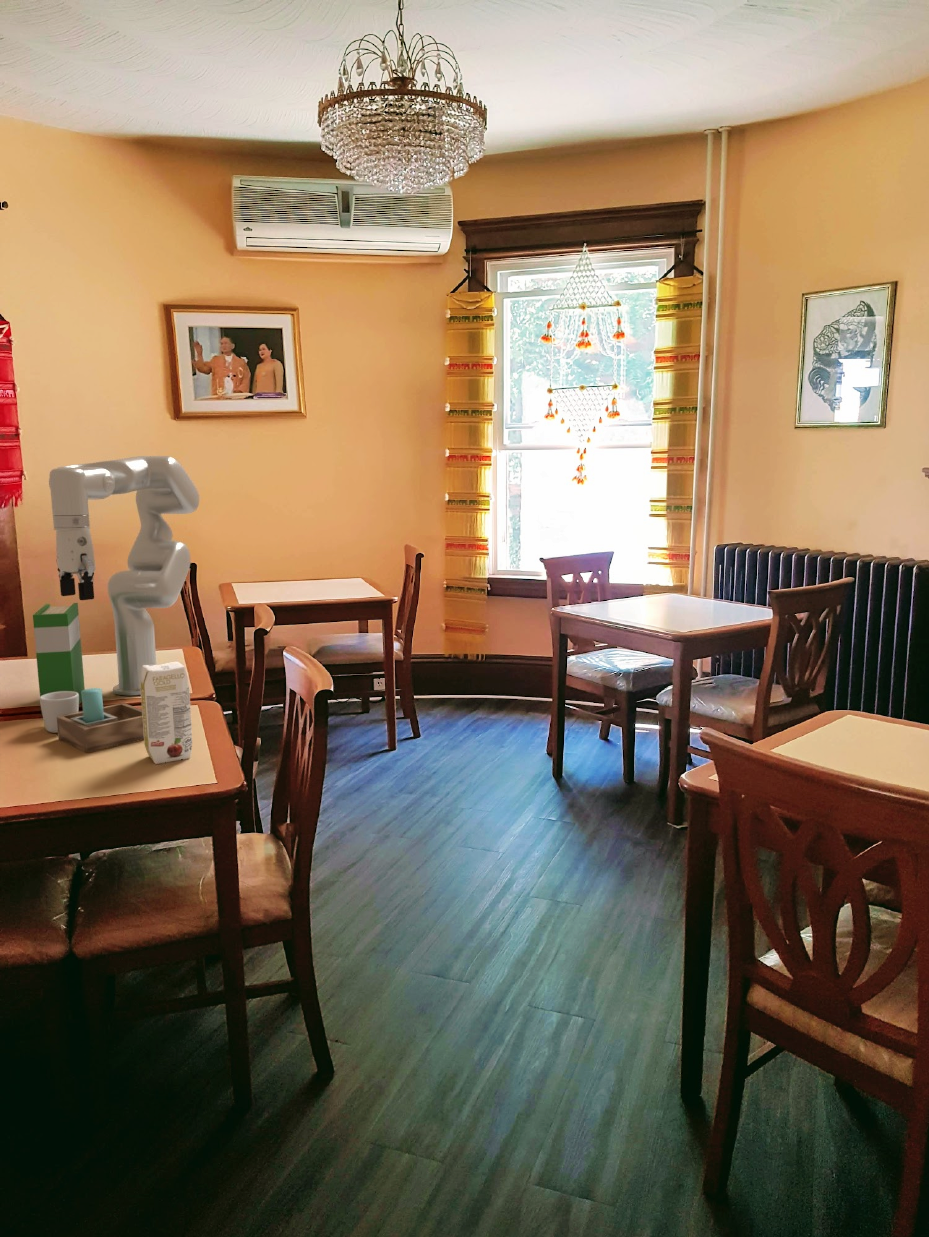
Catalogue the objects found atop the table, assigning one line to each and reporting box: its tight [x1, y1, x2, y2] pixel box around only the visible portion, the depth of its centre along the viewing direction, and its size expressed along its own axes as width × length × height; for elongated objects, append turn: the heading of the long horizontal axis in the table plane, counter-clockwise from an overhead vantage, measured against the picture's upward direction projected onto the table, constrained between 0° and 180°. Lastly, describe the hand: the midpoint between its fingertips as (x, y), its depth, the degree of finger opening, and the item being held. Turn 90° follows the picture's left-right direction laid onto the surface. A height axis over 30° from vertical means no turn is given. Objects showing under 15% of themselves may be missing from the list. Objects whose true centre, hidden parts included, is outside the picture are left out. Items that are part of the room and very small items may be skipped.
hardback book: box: [32, 602, 86, 714], centre depth 213 cm, size 18×7×24 cm, turn 16°
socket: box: [71, 712, 118, 727], centre depth 186 cm, size 7×7×4 cm
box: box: [57, 702, 144, 754], centre depth 188 cm, size 15×14×5 cm
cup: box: [38, 691, 80, 734], centre depth 194 cm, size 11×8×8 cm
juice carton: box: [140, 661, 193, 765], centre depth 174 cm, size 8×9×19 cm
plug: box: [81, 687, 104, 723], centre depth 185 cm, size 4×4×10 cm
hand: (77, 597), depth 200 cm, fingers open, 9 cm apart
